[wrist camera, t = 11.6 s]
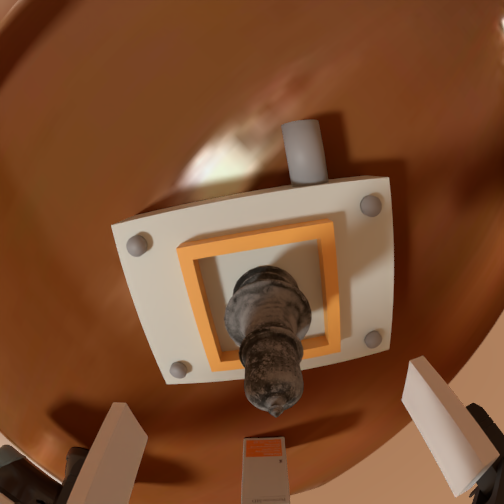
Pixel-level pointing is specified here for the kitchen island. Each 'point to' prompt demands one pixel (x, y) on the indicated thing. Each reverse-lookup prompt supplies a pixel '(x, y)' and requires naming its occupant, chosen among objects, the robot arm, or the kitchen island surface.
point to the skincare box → (265, 471)
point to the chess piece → (269, 336)
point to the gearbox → (265, 264)
